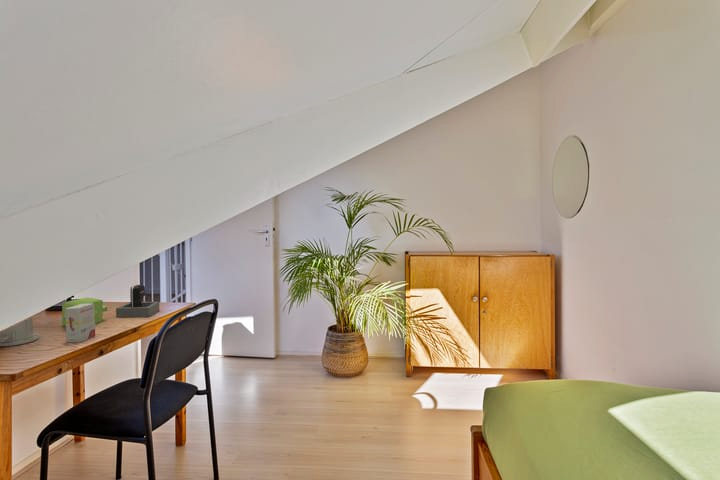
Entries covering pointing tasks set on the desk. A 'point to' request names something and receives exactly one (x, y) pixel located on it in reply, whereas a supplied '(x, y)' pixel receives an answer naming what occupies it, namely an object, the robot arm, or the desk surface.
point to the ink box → (80, 322)
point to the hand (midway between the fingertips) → (56, 246)
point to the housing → (137, 310)
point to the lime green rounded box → (97, 303)
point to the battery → (137, 295)
